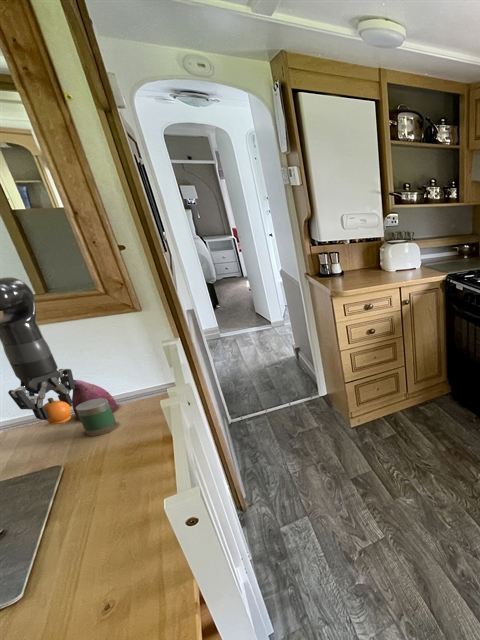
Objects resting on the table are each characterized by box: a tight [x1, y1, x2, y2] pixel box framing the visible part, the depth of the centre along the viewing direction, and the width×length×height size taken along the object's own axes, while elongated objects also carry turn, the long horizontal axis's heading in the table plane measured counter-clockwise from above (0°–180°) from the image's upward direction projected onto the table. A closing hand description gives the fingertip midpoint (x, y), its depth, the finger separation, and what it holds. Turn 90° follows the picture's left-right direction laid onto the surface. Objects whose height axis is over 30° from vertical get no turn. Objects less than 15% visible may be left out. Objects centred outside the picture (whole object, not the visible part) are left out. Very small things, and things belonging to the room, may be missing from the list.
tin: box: [76, 398, 118, 437], centre depth 115 cm, size 7×7×9 cm
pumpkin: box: [43, 397, 72, 425], centre depth 103 cm, size 6×6×7 cm
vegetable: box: [71, 379, 118, 421], centre depth 122 cm, size 10×10×15 cm
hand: (56, 412), depth 103 cm, fingers closed on pumpkin, 5 cm apart
